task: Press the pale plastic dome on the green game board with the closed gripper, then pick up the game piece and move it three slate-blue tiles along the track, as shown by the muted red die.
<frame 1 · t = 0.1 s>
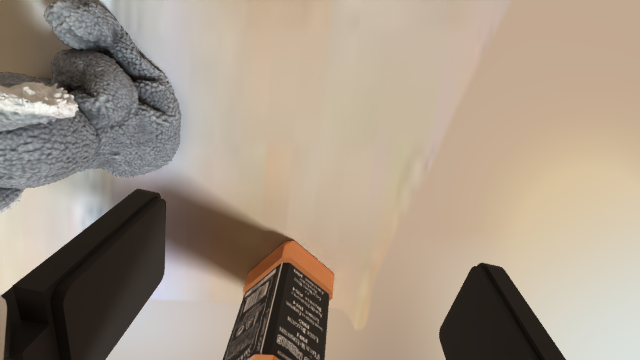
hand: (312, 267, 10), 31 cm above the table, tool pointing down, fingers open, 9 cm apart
whiskey bottle: (291, 275, 50), on the table
koala plush: (122, 102, 41), on the table
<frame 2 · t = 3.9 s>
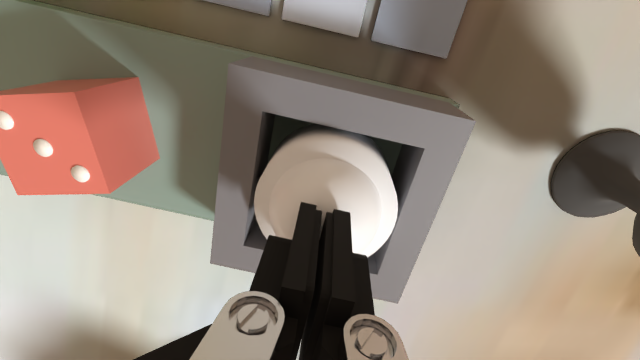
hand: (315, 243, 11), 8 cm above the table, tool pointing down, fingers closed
dome: (325, 205, 13), point 5 cm above the table, slide at -0.9 cm, touching gripper
sundae: (598, 173, 17), on the table
board: (212, 132, 18), on the table
die: (110, 120, 16), point 1 cm above the table, touching board
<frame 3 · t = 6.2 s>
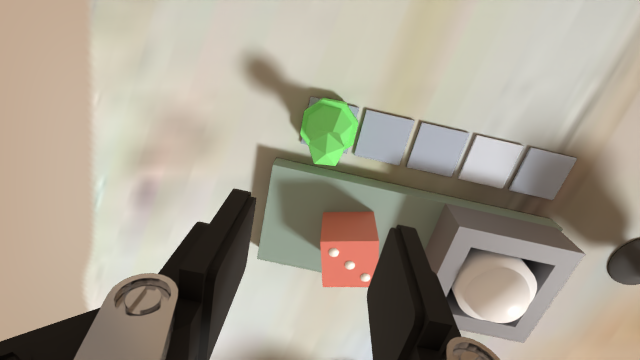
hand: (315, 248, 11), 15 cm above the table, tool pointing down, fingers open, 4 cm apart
dome: (493, 288, 24), point 5 cm above the table, slide at -1.3 cm
sundae: (637, 259, 28), on the table
game piece: (329, 125, 25), resting on track
board: (398, 234, 28), on the table
track: (436, 150, 25), on the table
die: (348, 233, 27), point 1 cm above the table, touching board
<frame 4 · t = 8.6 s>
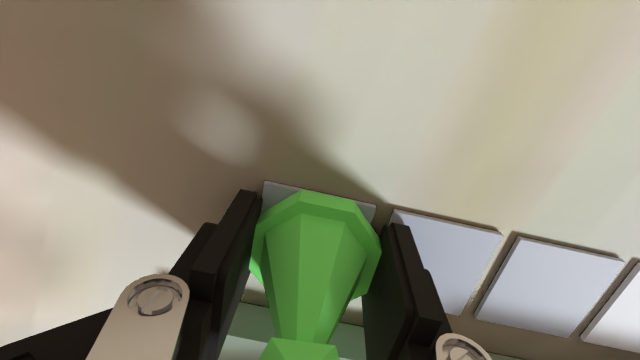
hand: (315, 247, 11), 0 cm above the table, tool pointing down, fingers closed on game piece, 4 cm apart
game piece: (315, 242, 11), resting on track, touching gripper
track: (542, 288, 12), on the table
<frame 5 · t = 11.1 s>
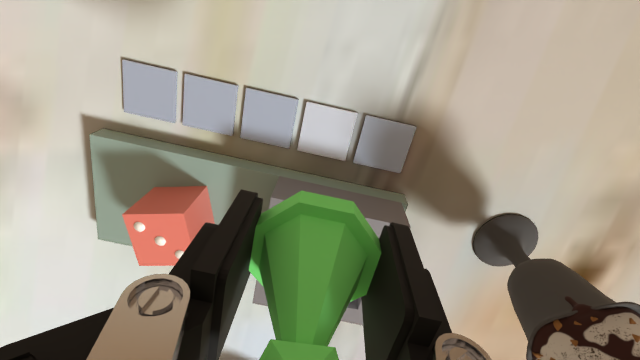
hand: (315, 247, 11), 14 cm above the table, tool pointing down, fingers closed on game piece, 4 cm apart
sundae: (503, 238, 27), on the table
game piece: (315, 243, 11), point 14 cm above the table, touching gripper
board: (249, 212, 27), on the table
track: (268, 118, 23), on the table
die: (186, 210, 25), point 1 cm above the table, touching board
when the fingers open (1 cm above the table, at t = 13.7 s): game piece stays where it is, resting on track.
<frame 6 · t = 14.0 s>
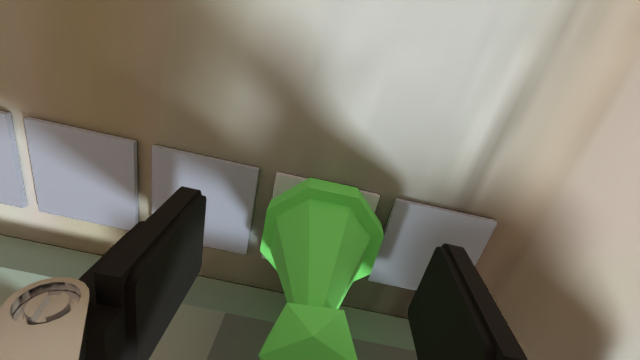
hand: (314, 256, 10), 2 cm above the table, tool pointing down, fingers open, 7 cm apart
game piece: (321, 228, 12), resting on track
board: (184, 348, 15), on the table
track: (204, 201, 12), on the table
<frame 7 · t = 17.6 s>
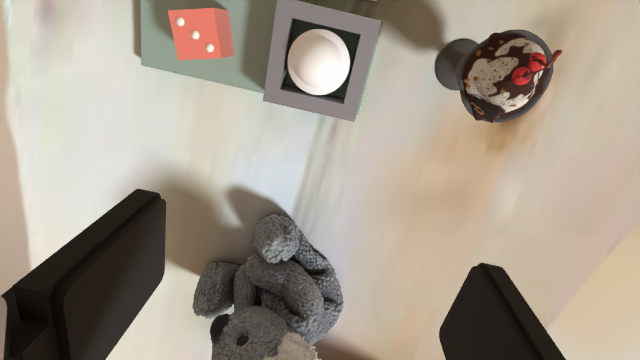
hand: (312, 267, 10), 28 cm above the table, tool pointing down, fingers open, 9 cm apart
dome: (318, 62, 30), point 5 cm above the table, slide at -1.3 cm
sundae: (459, 64, 34), on the table
board: (259, 44, 34), on the table
koala plush: (284, 275, 47), on the table
die: (211, 34, 32), point 1 cm above the table, touching board
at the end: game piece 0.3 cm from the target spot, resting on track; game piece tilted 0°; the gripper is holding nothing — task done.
